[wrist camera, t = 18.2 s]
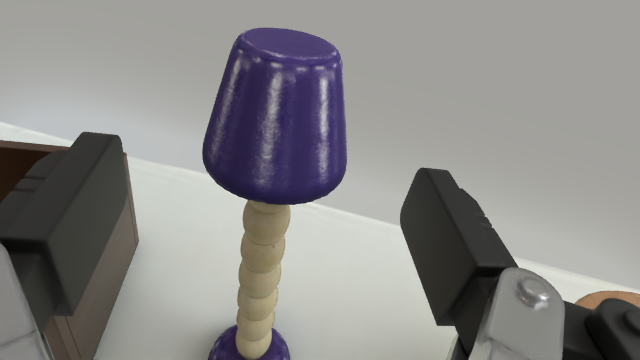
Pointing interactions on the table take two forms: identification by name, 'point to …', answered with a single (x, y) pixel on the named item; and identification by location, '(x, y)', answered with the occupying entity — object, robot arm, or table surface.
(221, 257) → the table surface
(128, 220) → the open wooden box
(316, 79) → the toy lamp
